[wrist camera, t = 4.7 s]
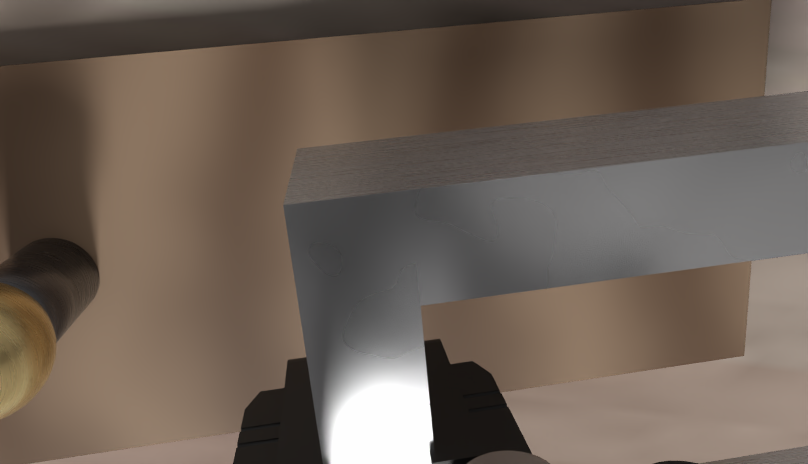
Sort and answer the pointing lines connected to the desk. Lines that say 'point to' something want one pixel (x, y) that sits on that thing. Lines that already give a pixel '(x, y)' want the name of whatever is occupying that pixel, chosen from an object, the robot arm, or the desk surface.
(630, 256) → the grey rectangular frame
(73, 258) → the post
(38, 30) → the desk surface
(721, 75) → the brown wooden board
